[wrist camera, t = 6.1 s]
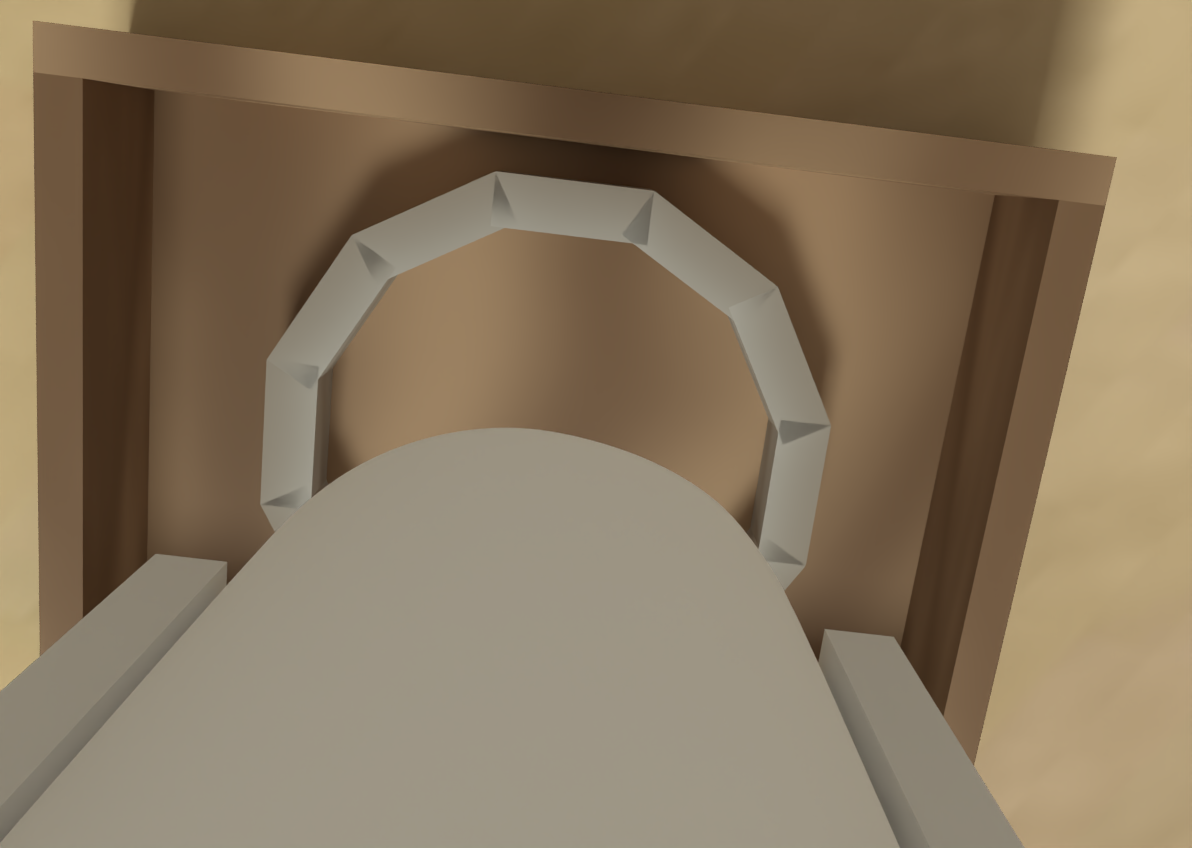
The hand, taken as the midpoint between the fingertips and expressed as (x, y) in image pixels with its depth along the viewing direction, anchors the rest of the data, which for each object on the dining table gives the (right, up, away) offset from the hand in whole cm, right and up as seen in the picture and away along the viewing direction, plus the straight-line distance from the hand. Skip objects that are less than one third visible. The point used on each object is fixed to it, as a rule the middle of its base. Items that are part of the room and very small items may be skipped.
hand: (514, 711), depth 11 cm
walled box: (0, +3, +11) cm, 11 cm away
